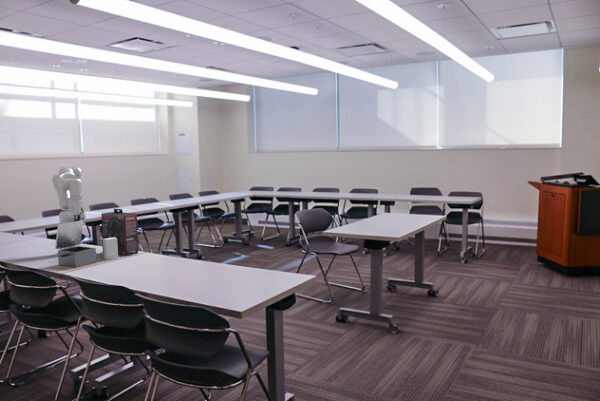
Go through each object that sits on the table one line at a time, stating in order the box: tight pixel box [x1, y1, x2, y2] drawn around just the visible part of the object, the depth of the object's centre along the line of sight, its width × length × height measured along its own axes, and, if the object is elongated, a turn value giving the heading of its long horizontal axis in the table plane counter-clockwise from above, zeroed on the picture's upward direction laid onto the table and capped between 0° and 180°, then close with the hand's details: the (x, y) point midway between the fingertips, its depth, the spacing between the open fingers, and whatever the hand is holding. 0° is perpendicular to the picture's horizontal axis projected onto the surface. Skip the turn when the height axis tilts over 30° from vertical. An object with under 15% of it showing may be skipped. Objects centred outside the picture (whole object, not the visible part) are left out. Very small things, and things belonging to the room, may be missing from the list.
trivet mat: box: [50, 260, 103, 271], centre depth 314 cm, size 21×24×1 cm
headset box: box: [100, 208, 139, 257], centre depth 349 cm, size 24×13×33 cm, turn 62°
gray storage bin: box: [57, 245, 97, 268], centre depth 313 cm, size 16×24×10 cm
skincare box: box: [102, 237, 119, 261], centre depth 330 cm, size 8×6×15 cm
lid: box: [54, 220, 84, 250], centre depth 315 cm, size 17×18×3 cm
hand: (77, 224), depth 320 cm, fingers closed
